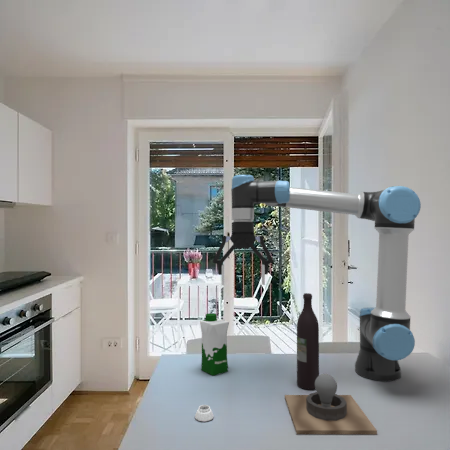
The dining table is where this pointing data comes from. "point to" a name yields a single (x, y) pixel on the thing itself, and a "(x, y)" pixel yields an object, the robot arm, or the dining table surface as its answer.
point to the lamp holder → (328, 415)
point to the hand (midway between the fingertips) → (243, 284)
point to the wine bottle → (307, 346)
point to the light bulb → (325, 388)
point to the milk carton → (214, 345)
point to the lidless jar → (204, 413)
